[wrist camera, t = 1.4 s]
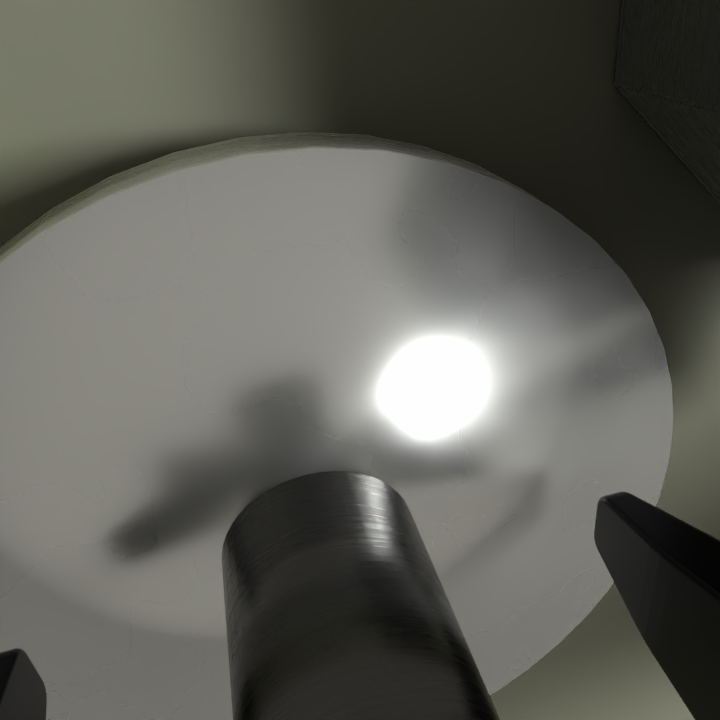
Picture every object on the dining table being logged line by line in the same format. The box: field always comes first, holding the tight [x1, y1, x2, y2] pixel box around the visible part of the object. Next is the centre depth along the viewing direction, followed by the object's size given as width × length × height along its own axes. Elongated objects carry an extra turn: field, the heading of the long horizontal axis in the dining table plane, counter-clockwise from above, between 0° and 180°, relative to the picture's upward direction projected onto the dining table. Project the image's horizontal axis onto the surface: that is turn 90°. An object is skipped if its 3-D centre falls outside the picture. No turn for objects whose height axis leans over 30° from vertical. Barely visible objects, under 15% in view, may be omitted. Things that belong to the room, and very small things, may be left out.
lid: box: [0, 132, 674, 720], centre depth 9 cm, size 12×12×6 cm
